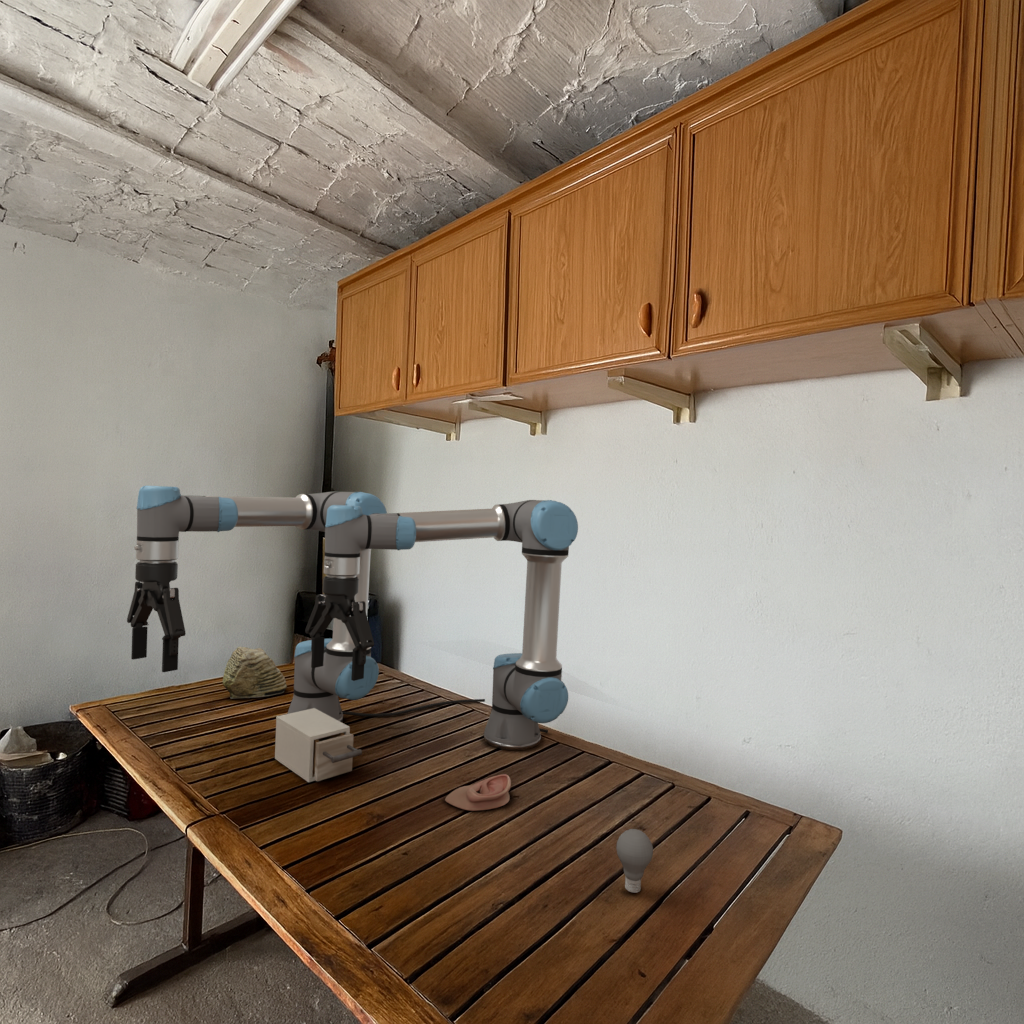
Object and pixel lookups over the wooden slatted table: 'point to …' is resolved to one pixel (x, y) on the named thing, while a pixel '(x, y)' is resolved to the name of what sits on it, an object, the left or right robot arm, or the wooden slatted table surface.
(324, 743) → the drawer
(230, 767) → the wooden slatted table surface
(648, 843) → the light bulb
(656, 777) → the wooden slatted table surface
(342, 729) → the cabinet
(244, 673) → the fossil
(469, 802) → the anatomical model
